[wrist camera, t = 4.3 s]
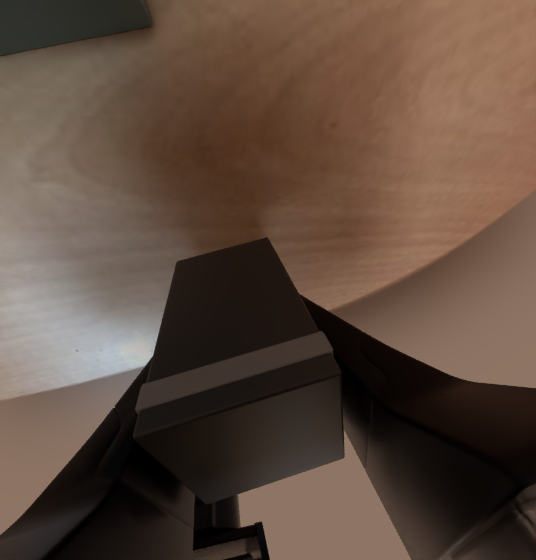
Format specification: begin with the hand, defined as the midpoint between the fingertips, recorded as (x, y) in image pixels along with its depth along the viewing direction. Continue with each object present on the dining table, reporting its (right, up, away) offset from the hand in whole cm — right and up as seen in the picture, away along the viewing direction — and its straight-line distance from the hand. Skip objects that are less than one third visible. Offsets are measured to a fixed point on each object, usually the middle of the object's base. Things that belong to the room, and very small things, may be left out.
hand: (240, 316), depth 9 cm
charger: (0, +1, +2) cm, 2 cm away
